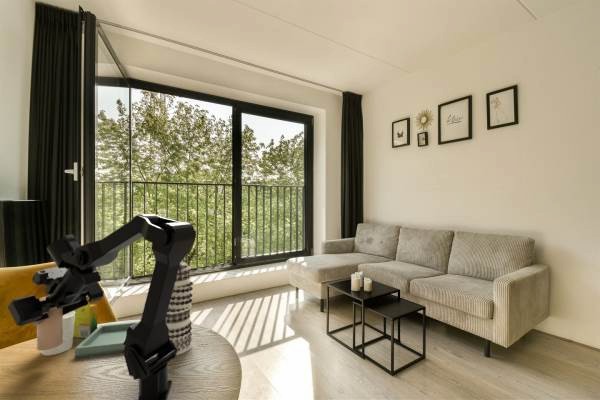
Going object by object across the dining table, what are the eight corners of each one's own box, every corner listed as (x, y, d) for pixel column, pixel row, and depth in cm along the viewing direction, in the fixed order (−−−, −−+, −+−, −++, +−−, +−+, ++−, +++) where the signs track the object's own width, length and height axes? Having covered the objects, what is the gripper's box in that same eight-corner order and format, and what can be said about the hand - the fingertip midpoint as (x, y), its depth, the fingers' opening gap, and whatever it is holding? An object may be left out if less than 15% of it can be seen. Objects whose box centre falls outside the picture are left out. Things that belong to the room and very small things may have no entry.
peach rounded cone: (55, 348, 70) (55, 300, 70) (31, 351, 69) (32, 302, 69) (66, 339, 75) (66, 294, 75) (45, 342, 74) (45, 295, 74)
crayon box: (97, 334, 89) (98, 298, 90) (89, 338, 86) (89, 302, 87) (78, 332, 91) (79, 297, 91) (69, 337, 88) (70, 300, 88)
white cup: (53, 358, 75) (54, 322, 76) (31, 355, 77) (32, 320, 77) (81, 344, 83) (82, 311, 83) (61, 341, 85) (61, 309, 85)
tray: (134, 350, 79) (135, 341, 79) (74, 357, 75) (75, 348, 76) (150, 328, 94) (150, 320, 94) (100, 333, 90) (100, 325, 90)
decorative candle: (178, 358, 75) (178, 267, 75) (151, 354, 77) (151, 266, 78) (199, 342, 84) (199, 261, 84) (174, 338, 86) (174, 259, 86)
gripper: (97, 251, 80) (71, 286, 83) (12, 265, 62) (-15, 308, 65) (116, 280, 77) (89, 315, 80) (34, 303, 59) (4, 346, 63)
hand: (46, 319), depth 72 cm, fingers closed on peach rounded cone, 5 cm apart
